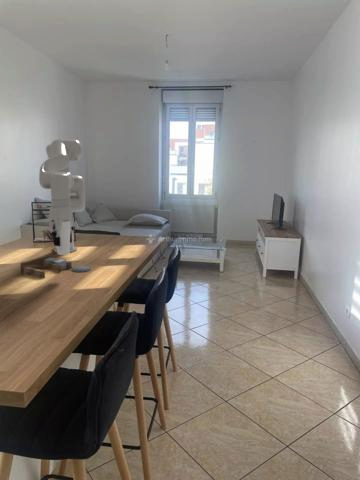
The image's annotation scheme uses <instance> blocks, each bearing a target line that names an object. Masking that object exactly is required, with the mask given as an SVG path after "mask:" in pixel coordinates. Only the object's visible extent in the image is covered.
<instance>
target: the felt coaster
mask: <svg viewBox="0 0 360 480" xmlns="http://www.w3.org/2000/svg"><path fill="white" fill-rule="evenodd" d="M70 269H71V271H72V272H74V273H85V272H90V271H91V270H92V268H91V266H88V265H78V266H72V268H70Z"/></svg>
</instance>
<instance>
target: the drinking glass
mask: <svg viewBox="0 0 360 480" xmlns="http://www.w3.org/2000/svg"><path fill="white" fill-rule="evenodd" d="M55 229H56V227H55ZM56 232H57V231H55V233H56ZM59 237H60V246H56V247H57V252H56V254H57V255H59V256H67V255H70V253H71V252H70V220H69V221H66V222H62V226H61V230H60V231H59Z"/></svg>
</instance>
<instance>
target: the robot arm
mask: <svg viewBox="0 0 360 480" xmlns="http://www.w3.org/2000/svg"><path fill="white" fill-rule="evenodd" d="M45 151H46V155H47V157H48V158H47V159H46V160H45V161H43V162H42V164H41V165H40V167H39V175H38V178H39V179H38V181H39V185H40V187H41V188H42V189H44V190H45V189H46V190H50V198H51V206H50V207H49V208H50V209H49V213H48V227H47V231H46V232H48V233H49V234H50V235H51V237H53V238H52V239H53V243H52V246H54V248H53V251H54V252H55V253H57V247H56V246H60V237H59V231H60V230H61V226H62V222H66V221H69V220H70V253H72V252H76V251H77V250H78V248H77V246H75V241H74V239H75V237H74V229H75V227H76V226H77V224H76V223H77V222H75V221H74V215H73V213H79V212H81V213H82V212H84V211H85V209H86V189H85V188H86V187H85V186H86V185H85V180H84V178H83V176H80V175H73V174H72V173H71V168H70V162H80V161H81V159H82V158H83V146H82V143H81V142H80V141H79V140H77V139H66V138H64V139H63V138H58V139H54V140H52V142H51V143H50V144H48V145H46V149H45ZM55 227H56V229H55ZM55 231H57V232H56V233H55Z"/></svg>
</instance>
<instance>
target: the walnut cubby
mask: <svg viewBox="0 0 360 480" xmlns="http://www.w3.org/2000/svg"><path fill="white" fill-rule="evenodd" d="M72 268H73V263H72V261H68V260H66V259H60V258H56V257H54V254H47V255H44V256H43V255H42V256H40V257H37V258H34V259H30V260H26V261H23V262H20V272H21V274H22V275H25V276H30V277H35V278H41V279H44V278H45V277H46V273H45V272H46V271H45V270H50V271H53V272H59V273H61V272H63V270H66V269H69V270H70V269H72ZM42 269H44V270H42Z"/></svg>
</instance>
